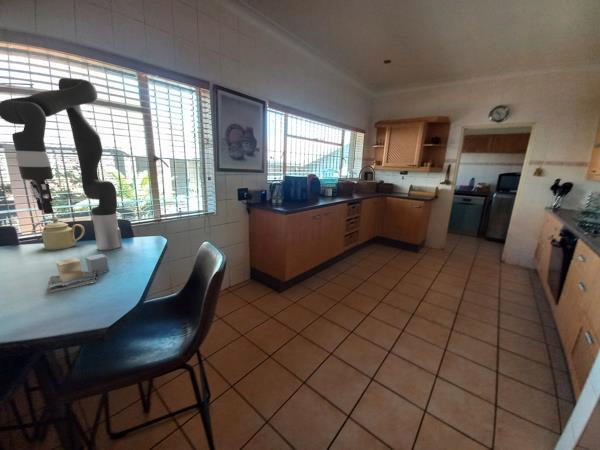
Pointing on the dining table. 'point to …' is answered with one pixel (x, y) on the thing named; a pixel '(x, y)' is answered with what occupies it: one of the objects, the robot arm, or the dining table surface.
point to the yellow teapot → (59, 235)
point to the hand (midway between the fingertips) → (45, 211)
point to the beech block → (69, 269)
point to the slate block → (97, 263)
